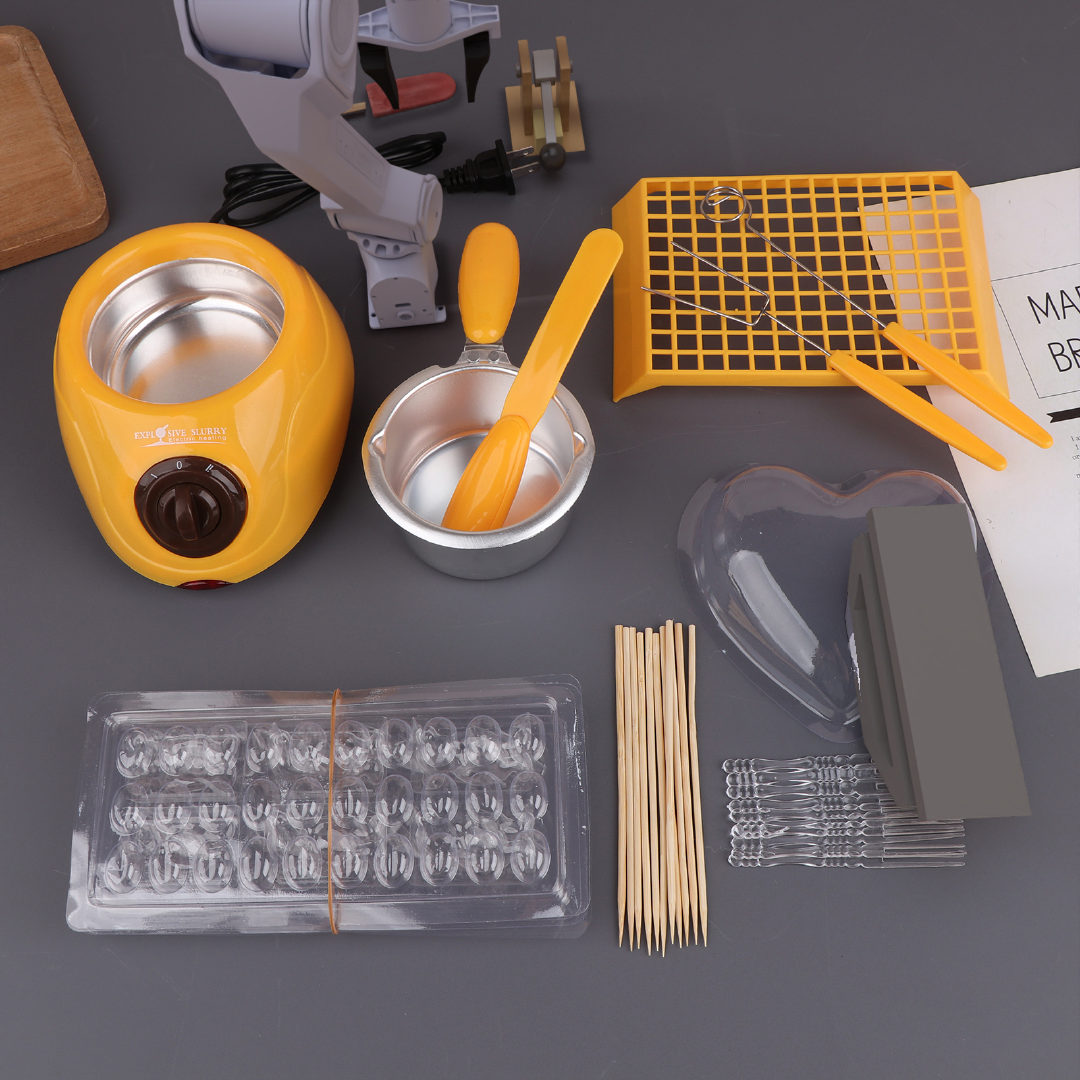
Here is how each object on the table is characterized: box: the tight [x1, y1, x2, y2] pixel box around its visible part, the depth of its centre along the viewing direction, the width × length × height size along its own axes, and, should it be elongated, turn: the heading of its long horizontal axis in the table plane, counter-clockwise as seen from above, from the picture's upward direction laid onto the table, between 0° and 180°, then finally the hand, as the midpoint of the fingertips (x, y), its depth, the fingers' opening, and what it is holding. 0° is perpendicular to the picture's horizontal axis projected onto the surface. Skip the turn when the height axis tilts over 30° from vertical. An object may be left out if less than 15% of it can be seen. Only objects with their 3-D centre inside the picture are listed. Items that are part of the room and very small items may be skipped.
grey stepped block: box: [846, 502, 1033, 822], centre depth 76 cm, size 25×8×11 cm, turn 3°
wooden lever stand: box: [504, 35, 586, 157], centre depth 97 cm, size 10×8×10 cm
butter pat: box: [533, 107, 563, 156], centre depth 98 cm, size 4×3×2 cm
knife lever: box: [531, 48, 568, 174], centre depth 94 cm, size 12×3×3 cm, turn 6°
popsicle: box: [340, 72, 457, 119], centre depth 102 cm, size 4×2×15 cm
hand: (433, 98), depth 91 cm, fingers open, 7 cm apart
